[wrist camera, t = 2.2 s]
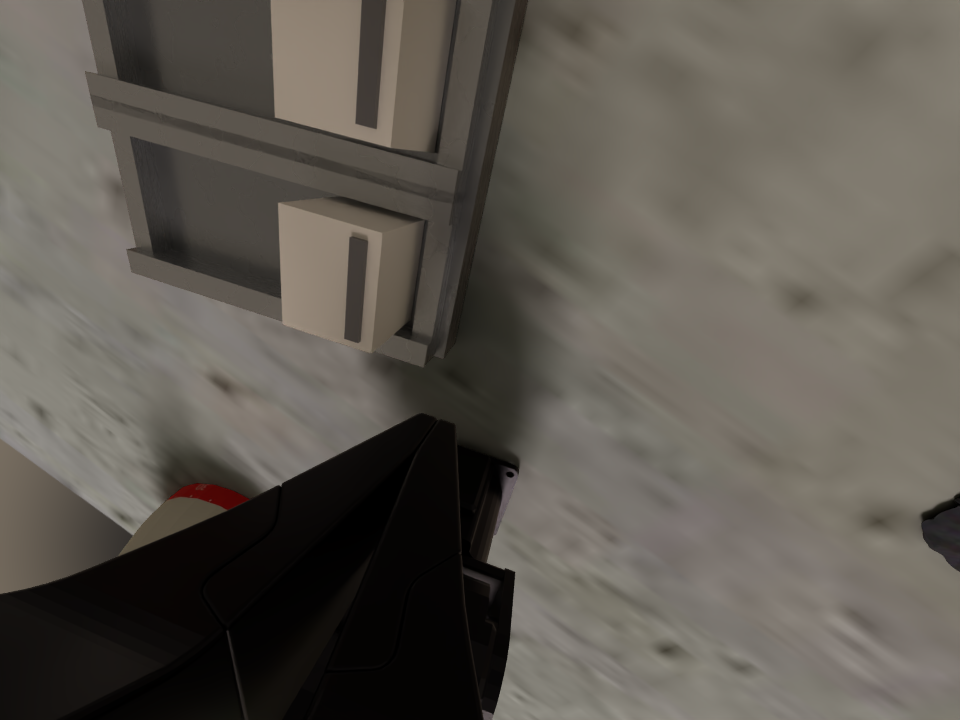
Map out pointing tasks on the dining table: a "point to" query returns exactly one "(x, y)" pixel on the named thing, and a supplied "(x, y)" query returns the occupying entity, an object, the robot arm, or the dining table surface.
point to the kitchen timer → (184, 512)
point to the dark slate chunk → (945, 534)
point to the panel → (285, 153)
